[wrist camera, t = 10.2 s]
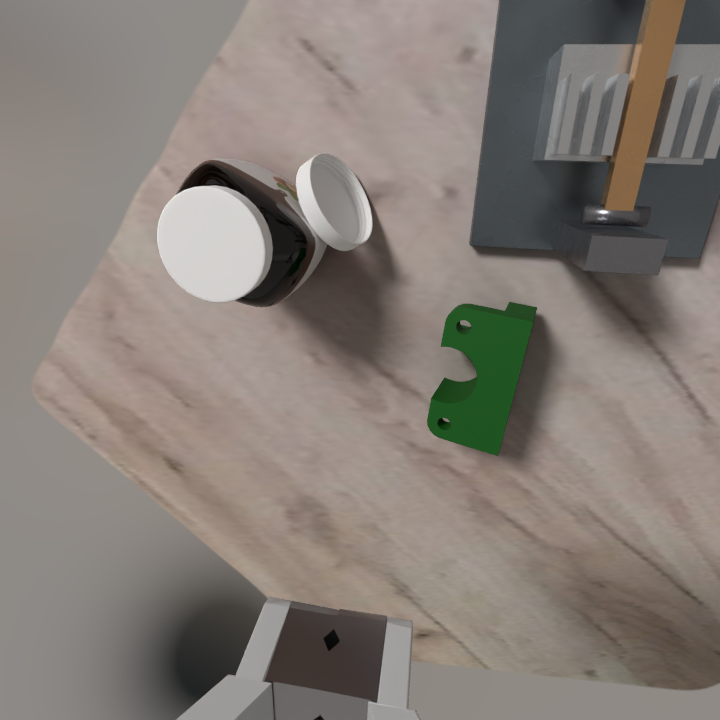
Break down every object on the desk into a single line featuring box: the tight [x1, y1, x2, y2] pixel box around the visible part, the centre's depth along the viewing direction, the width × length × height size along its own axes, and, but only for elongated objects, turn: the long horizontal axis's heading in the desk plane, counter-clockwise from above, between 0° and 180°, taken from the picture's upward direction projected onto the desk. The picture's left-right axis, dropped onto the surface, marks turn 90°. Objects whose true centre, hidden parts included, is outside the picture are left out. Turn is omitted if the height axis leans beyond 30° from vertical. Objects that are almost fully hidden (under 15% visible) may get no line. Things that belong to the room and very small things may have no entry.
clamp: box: [427, 302, 537, 456], centre depth 37 cm, size 12×6×9 cm, turn 169°
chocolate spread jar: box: [157, 153, 373, 307], centre depth 32 cm, size 12×11×12 cm
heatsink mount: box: [469, 0, 720, 275], centre depth 27 cm, size 16×17×10 cm
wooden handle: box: [580, 0, 686, 227], centre depth 26 cm, size 4×13×1 cm, turn 178°
